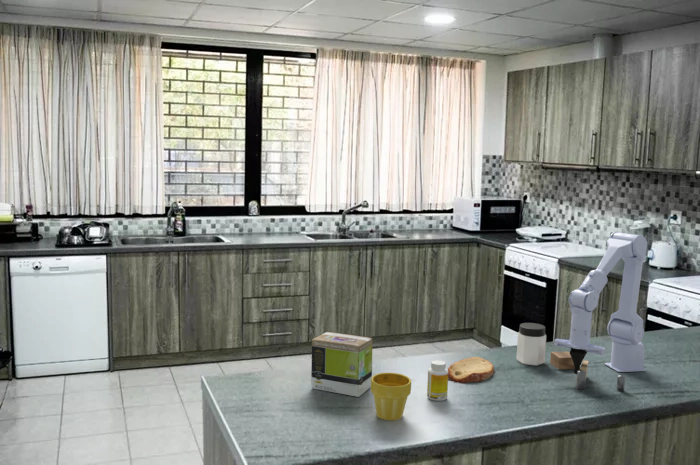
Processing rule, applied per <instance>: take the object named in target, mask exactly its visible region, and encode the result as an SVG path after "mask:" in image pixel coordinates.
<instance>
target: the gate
mask: <svg viewBox="0 0 700 465" xmlns="http://www.w3.org/2000/svg"><path fill="white" fill-rule="evenodd" d="M588 365H589V360H586V359H585V360H584V359H583V361H582V363H581V365H580V370H584V371H586V378H587V377H588V369H589V366H588Z"/></svg>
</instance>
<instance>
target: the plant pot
mask: <svg viewBox="0 0 700 465" xmlns="http://www.w3.org/2000/svg"><path fill="white" fill-rule="evenodd" d="M411 391H412V379H411V378H410V377H409V376H407V375H405V374H402V373H398V372H381V373H375V374H374V375H373V376H372V378H371V387H370V392H371V393H372V395H373V399H374V406H375V412H376V413H375V414H376V416H377V417H378V418H379V419H381V420H384V421H397V420H400V419H402V418H403V414H404V411H405V408H406V403H407V400H408V397H409V396H410V395H411Z"/></svg>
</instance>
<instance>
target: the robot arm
mask: <svg viewBox="0 0 700 465" xmlns="http://www.w3.org/2000/svg"><path fill="white" fill-rule="evenodd" d="M606 247H607V248H606V250H605V253H604V255H603V256H602V258H601V260H600V261H599V263H598V266H597V267H596V269H592V270H590V271H589V272H588V274H587V276H586V277H585V279H584V280H583V281H582V283H581V284H580V286H579V287H578V288H576V289H574V290H573V291H571V292H570V295H569V297H568V304H569V306H570V310H569V311H570V313H571V321H570V332H569V339H562V338H561V339H560V338H555V339H554V343H553V346H554V347H561V348H566V349H567V348H568V349H570V350H569V352H570V355H571V357H572V360H573V363H574V367H575V369H573V370H574V371H573V373H574V374H575V375H577V371H578V370H580V368H581V365H582V362H583V360H584V358H585V357H586V355H587V354H588V353H593V354H597V355H600V356H604V355H605V354H606V347H603V346H599V345H595V344H594V343H593V344H592V343H591V330H592V320H593V311H594V310H595V309H596V308H597V306H598V304H599V299H600V294H601V292H603V291H602V290H603V289H604V288H605V286H606V285H607V283H608V277H607V276H608V275H609V274H610V272H611V271H612V270H613V268H614V267H615V266H616V265H617V263H619V261H620V260H621V259H622V261H623V262H624V265H623V266H624V267H623V273H622V281H621V288H620V296H619V302H618V310H617V311H615V312H612V314H610V318H609V322H608V324H607V328H606V330H607V335H608V336H609V337H610V340H612V343H611V354H610V362H605V363H604V365H606V366H607V367H609V368H610V369H613V370H615V371H616V372H617V373H629V372H645V371H646V369H645V368H644V367H645V354H646V350H645V345H644V344H643V342H642V340H643V338H644V335H645V330H644V321H645V320H644V319H643V318H642V317H641V316H640V315H639V314H638V313H637V309H638V301H639V294H640V287H641V286H640V285H641V279H642V271H643V264H644V261H646V256H647V249H648V241H647V239H646V238H645V236H644V235H643V234H635V233H628V232H627V233H625V232H619V231H613V232H612V233H611V234H610V235H609V238H608V239H607V240H606Z"/></svg>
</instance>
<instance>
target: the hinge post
mask: <svg viewBox="0 0 700 465" xmlns="http://www.w3.org/2000/svg"><path fill="white" fill-rule="evenodd" d="M586 380H587V377H586V371H584V370H578V371H577V374H576V384H575V390H576V391H580V392H585V390H586Z"/></svg>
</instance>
